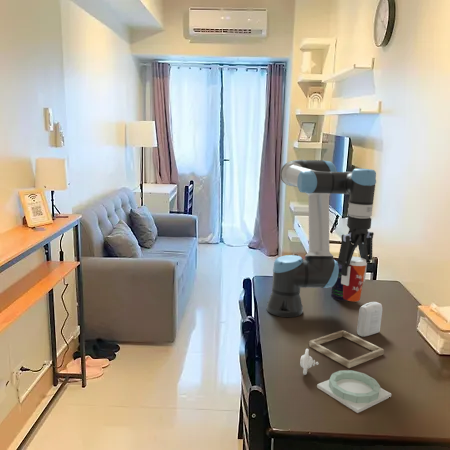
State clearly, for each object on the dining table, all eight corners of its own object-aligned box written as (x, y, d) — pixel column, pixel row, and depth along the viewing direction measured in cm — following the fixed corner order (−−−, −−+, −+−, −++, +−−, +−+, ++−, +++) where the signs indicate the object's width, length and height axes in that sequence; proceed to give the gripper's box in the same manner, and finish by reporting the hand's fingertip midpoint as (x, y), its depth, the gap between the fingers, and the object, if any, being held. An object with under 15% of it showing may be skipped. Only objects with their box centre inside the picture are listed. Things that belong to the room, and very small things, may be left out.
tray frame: (308, 346, 163) (309, 340, 163) (342, 334, 174) (343, 329, 173) (349, 368, 149) (349, 362, 149) (383, 354, 159) (383, 349, 159)
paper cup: (359, 304, 151) (363, 263, 149) (336, 299, 155) (340, 259, 152) (365, 297, 158) (370, 258, 155) (343, 292, 162) (347, 254, 159)
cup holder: (316, 387, 137) (317, 378, 136) (350, 373, 146) (350, 365, 145) (357, 413, 125) (358, 403, 125) (391, 396, 134) (392, 387, 133)
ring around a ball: (300, 366, 149) (302, 343, 147) (318, 369, 148) (320, 346, 146) (298, 378, 141) (300, 354, 140) (316, 381, 140) (319, 357, 139)
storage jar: (335, 291, 221) (338, 261, 218) (355, 296, 215) (358, 266, 212) (327, 297, 213) (330, 266, 210) (347, 302, 208) (350, 270, 204)
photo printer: (372, 328, 181) (375, 298, 178) (381, 332, 177) (385, 302, 175) (354, 333, 175) (357, 303, 173) (363, 338, 172) (367, 307, 169)
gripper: (348, 220, 142) (341, 290, 147) (388, 215, 154) (381, 281, 158) (329, 216, 148) (323, 284, 152) (370, 212, 160) (363, 275, 164)
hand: (353, 282), depth 155 cm, fingers closed on paper cup, 8 cm apart
